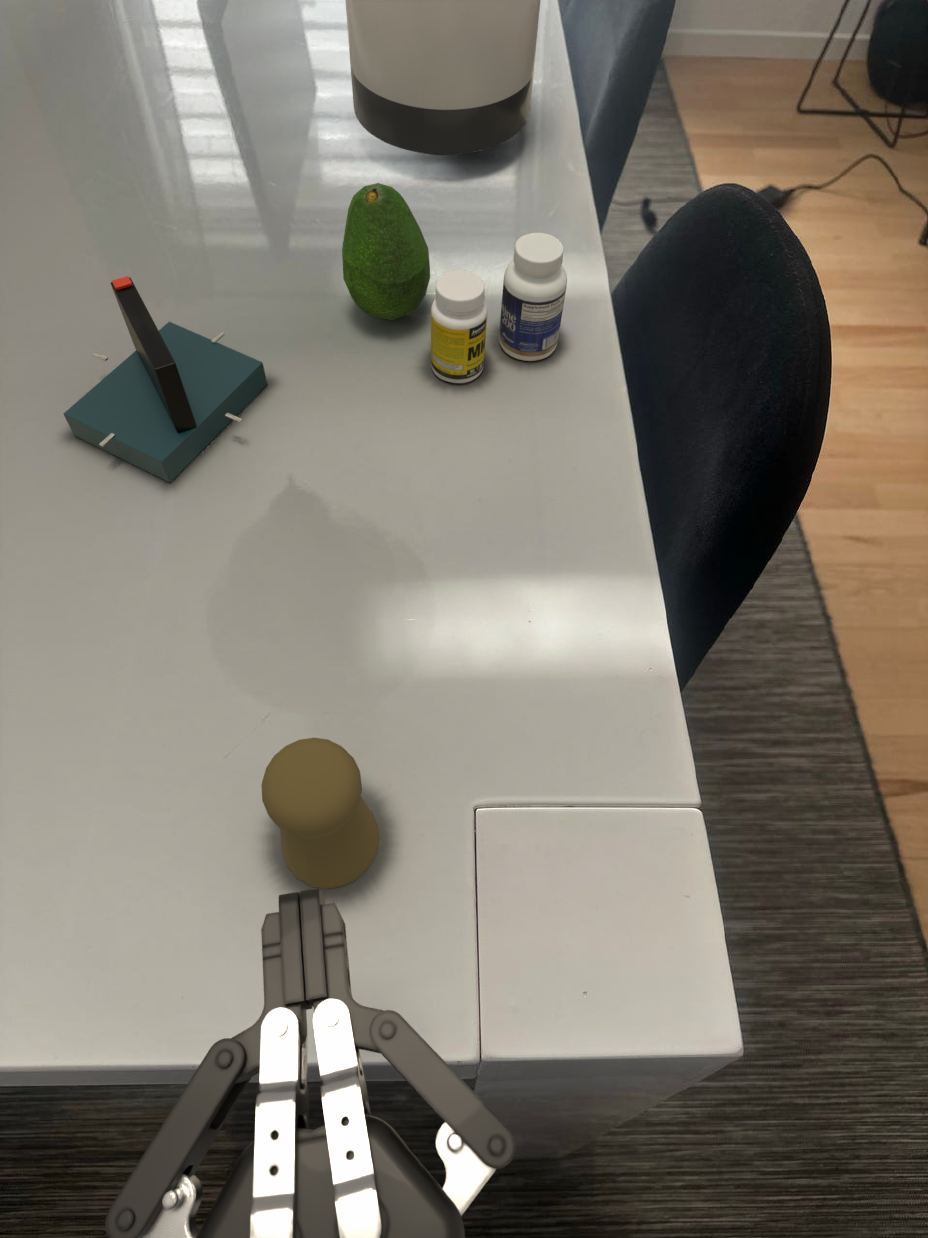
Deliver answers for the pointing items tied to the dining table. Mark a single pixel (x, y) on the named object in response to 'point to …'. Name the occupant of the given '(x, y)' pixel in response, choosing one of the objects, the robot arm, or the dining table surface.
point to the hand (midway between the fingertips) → (301, 896)
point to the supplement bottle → (458, 327)
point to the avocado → (384, 254)
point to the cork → (320, 812)
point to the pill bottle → (533, 298)
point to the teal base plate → (136, 418)
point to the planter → (442, 71)
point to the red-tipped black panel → (154, 354)
